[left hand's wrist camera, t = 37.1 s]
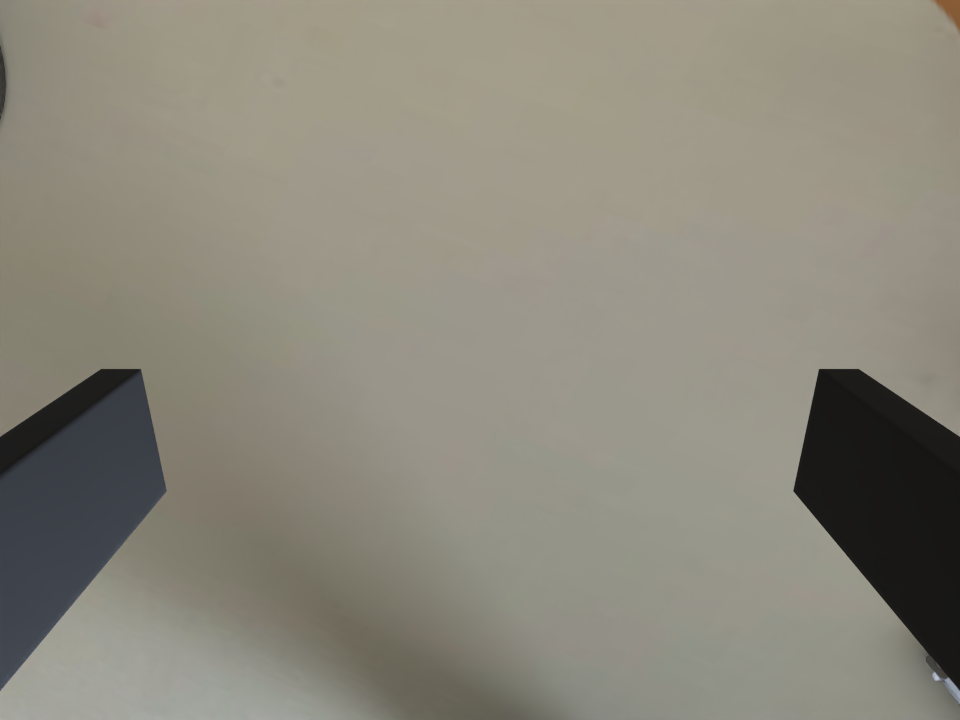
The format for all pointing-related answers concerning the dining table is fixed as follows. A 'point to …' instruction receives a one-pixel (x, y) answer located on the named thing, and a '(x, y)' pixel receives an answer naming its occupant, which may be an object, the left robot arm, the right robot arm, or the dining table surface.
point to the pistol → (943, 678)
